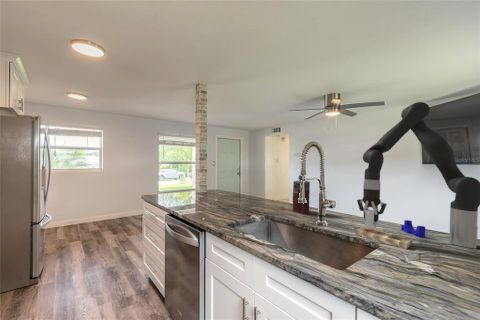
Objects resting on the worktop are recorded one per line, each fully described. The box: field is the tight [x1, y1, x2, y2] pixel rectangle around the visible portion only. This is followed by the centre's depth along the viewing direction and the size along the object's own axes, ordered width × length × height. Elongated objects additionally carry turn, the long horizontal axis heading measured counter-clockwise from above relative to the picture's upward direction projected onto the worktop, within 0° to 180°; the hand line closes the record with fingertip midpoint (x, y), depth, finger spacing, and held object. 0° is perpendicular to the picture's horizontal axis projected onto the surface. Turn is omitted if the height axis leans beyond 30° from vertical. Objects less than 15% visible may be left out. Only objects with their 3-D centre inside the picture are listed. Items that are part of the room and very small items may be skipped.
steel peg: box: [364, 208, 377, 230], centre depth 112 cm, size 4×4×9 cm
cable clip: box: [400, 219, 426, 239], centre depth 117 cm, size 12×4×6 cm, turn 173°
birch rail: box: [354, 226, 413, 250], centre depth 107 cm, size 22×10×3 cm, turn 39°
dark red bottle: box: [292, 174, 311, 215], centre depth 160 cm, size 9×11×28 cm
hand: (370, 220), depth 112 cm, fingers closed on steel peg, 4 cm apart
